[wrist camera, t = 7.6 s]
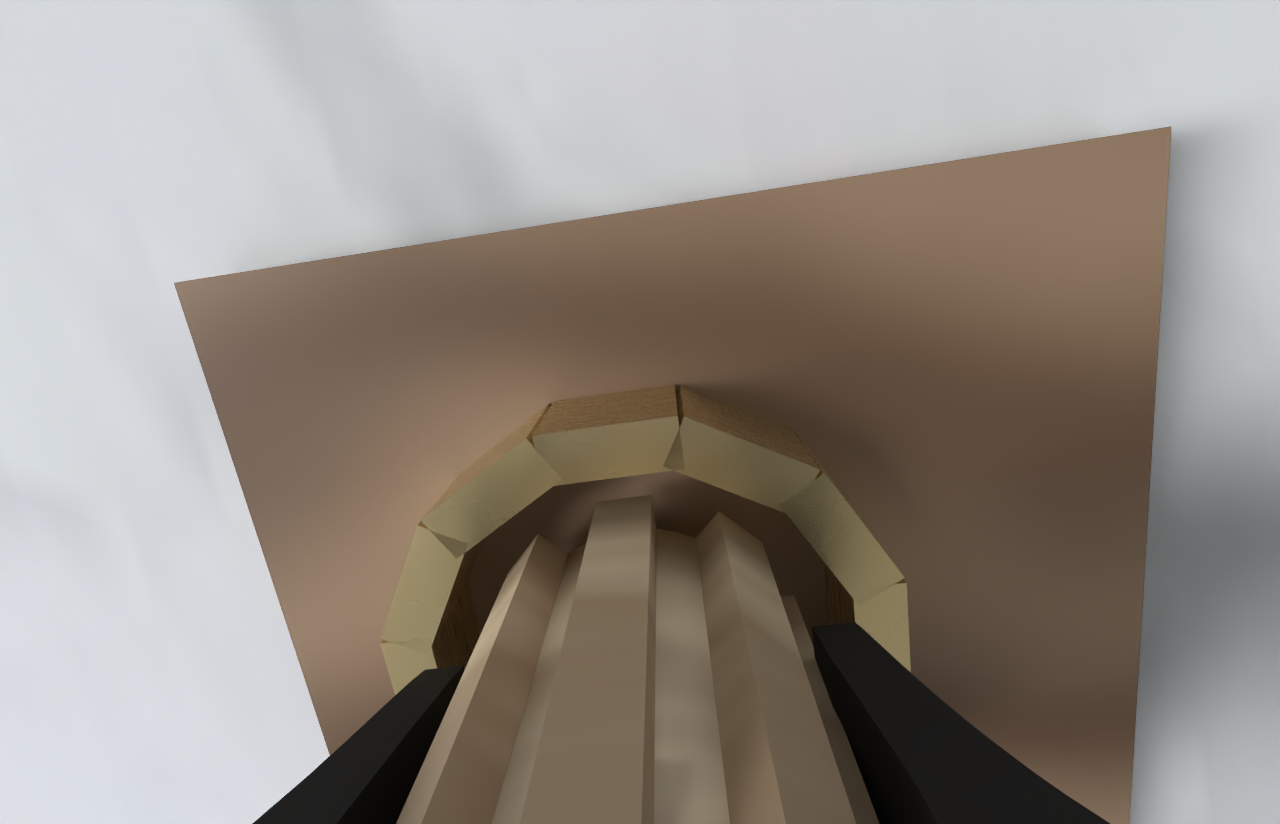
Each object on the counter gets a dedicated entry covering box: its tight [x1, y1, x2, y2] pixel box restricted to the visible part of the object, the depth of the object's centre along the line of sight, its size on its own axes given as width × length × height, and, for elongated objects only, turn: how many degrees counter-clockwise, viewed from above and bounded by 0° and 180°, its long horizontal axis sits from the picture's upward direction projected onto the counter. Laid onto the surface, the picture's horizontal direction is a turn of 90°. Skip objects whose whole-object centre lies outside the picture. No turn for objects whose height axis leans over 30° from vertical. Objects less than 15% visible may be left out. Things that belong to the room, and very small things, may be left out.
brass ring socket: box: [380, 384, 911, 695], centre depth 11 cm, size 8×8×2 cm
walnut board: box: [174, 127, 1171, 824], centre depth 14 cm, size 20×16×2 cm
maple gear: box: [396, 495, 879, 824], centre depth 8 cm, size 5×5×6 cm
